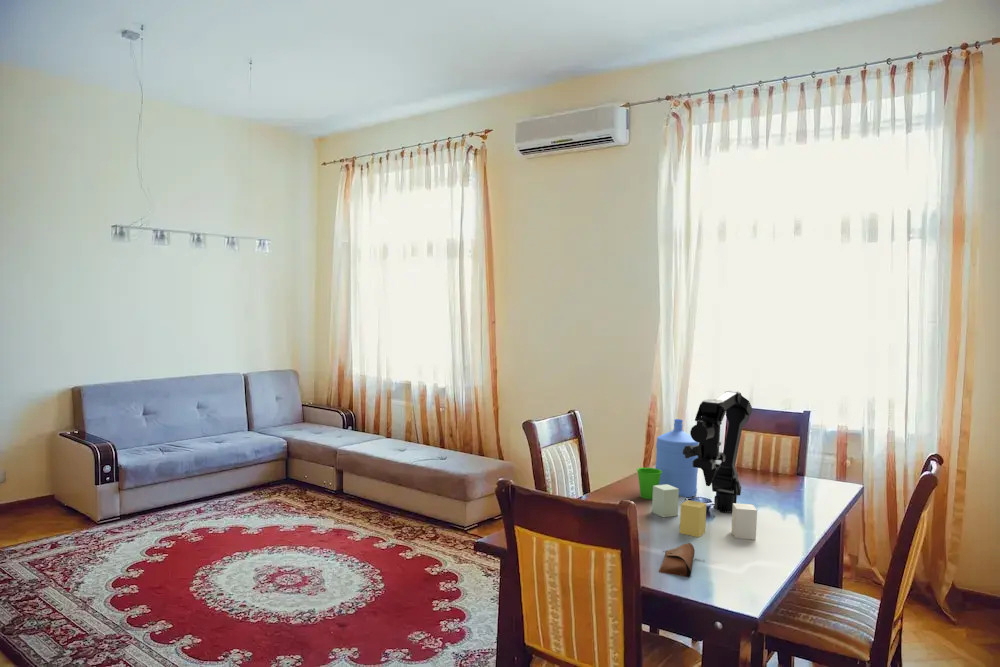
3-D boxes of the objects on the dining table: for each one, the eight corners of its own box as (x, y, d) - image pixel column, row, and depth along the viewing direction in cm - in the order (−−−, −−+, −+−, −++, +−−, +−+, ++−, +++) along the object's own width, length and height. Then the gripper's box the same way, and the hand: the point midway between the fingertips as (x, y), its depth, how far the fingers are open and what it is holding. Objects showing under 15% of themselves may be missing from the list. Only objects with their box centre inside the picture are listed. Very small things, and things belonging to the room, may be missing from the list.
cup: (661, 504, 245) (662, 474, 245) (635, 502, 247) (636, 472, 246) (660, 498, 254) (661, 468, 253) (635, 495, 256) (636, 466, 255)
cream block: (731, 531, 214) (732, 503, 213) (751, 533, 213) (752, 504, 212) (735, 538, 208) (736, 508, 207) (755, 539, 207) (757, 510, 207)
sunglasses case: (663, 550, 199) (676, 532, 197) (684, 565, 197) (698, 547, 196) (657, 572, 182) (672, 553, 180) (680, 589, 180) (695, 570, 179)
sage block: (666, 510, 234) (667, 484, 234) (677, 515, 229) (678, 488, 228) (651, 512, 232) (653, 485, 231) (663, 517, 226) (664, 490, 226)
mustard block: (686, 528, 216) (687, 499, 215) (705, 532, 212) (706, 503, 212) (679, 533, 211) (680, 504, 210) (698, 537, 207) (700, 507, 207)
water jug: (689, 501, 251) (693, 425, 250) (648, 493, 259) (651, 420, 258) (701, 492, 264) (705, 419, 263) (662, 485, 273) (665, 415, 271)
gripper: (694, 432, 239) (691, 476, 239) (678, 439, 223) (675, 487, 223) (726, 436, 233) (724, 482, 234) (712, 444, 217) (710, 493, 218)
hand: (708, 485), depth 227 cm, fingers closed
